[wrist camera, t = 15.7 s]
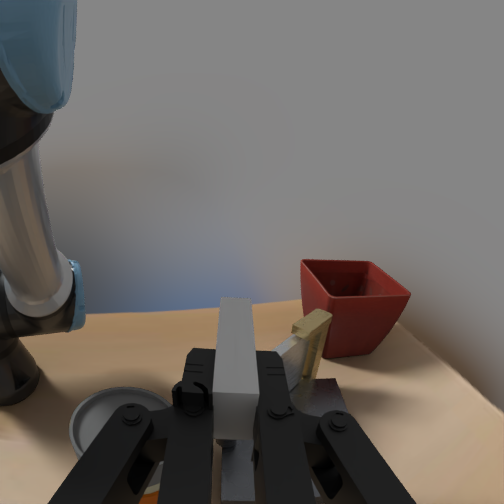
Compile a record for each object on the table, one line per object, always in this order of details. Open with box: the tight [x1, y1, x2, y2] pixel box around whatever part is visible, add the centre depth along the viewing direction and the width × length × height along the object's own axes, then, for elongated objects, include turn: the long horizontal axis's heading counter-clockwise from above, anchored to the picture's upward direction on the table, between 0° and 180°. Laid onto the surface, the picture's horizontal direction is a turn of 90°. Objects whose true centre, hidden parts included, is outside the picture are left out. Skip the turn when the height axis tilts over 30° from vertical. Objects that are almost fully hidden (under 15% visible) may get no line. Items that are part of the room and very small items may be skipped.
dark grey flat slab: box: [221, 378, 348, 504], centre depth 40 cm, size 20×24×3 cm
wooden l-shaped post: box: [291, 309, 333, 383], centre depth 48 cm, size 3×7×16 cm, turn 138°
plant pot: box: [301, 259, 411, 358], centre depth 65 cm, size 19×19×17 cm
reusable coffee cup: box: [69, 387, 172, 504], centre depth 27 cm, size 12×13×15 cm
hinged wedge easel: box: [216, 334, 310, 448], centre depth 41 cm, size 20×3×11 cm, turn 141°
